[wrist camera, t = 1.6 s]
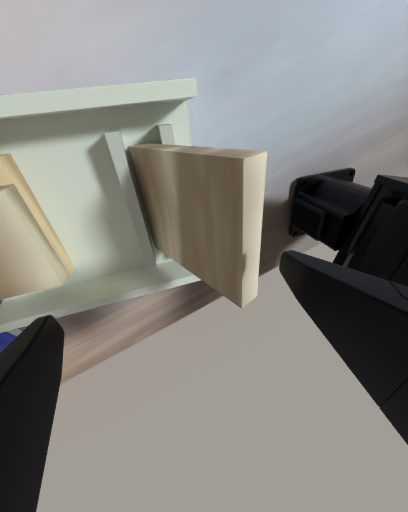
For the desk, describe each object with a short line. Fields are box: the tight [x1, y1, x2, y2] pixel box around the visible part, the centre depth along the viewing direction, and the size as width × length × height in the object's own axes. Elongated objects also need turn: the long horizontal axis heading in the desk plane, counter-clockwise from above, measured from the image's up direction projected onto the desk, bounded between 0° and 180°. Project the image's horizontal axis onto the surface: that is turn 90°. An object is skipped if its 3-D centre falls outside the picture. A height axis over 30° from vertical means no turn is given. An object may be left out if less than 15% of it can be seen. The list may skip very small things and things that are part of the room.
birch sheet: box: [127, 143, 267, 308], centre depth 13 cm, size 1×8×10 cm, turn 7°
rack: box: [0, 78, 201, 333], centre depth 15 cm, size 18×14×4 cm
